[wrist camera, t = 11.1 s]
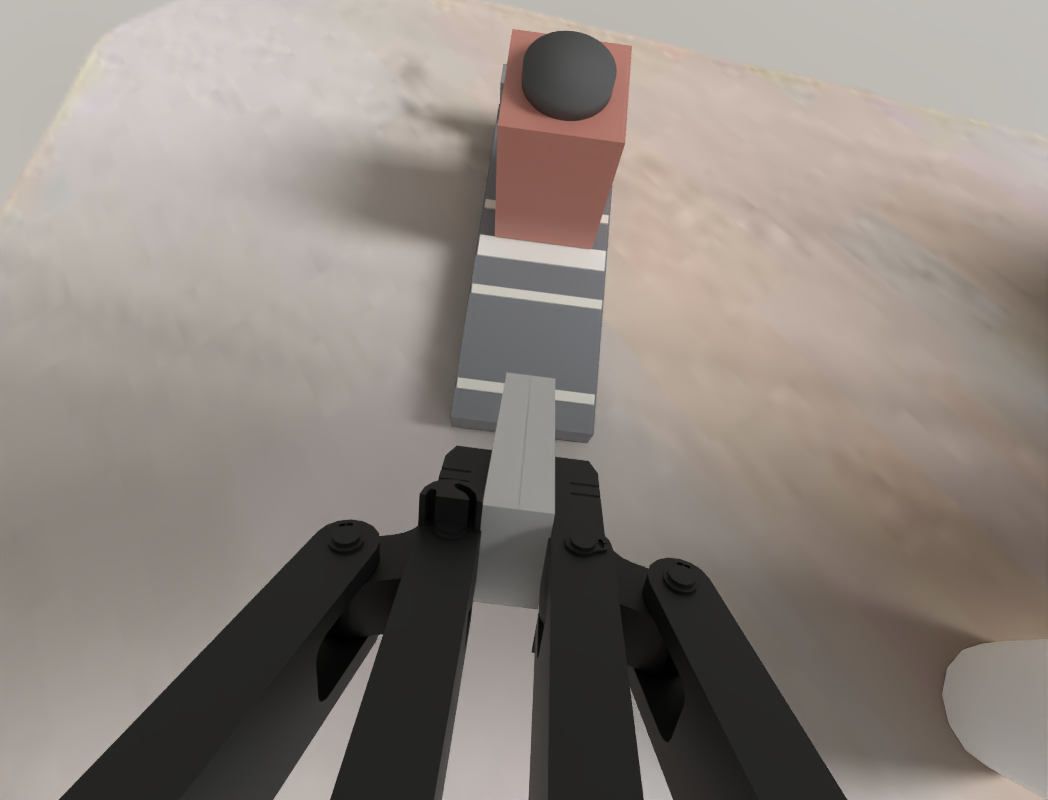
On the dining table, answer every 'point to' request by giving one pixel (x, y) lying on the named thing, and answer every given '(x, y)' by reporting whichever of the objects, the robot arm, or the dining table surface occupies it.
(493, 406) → the track
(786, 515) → the dining table surface
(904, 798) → the dining table surface
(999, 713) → the foam cup
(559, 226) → the plug
